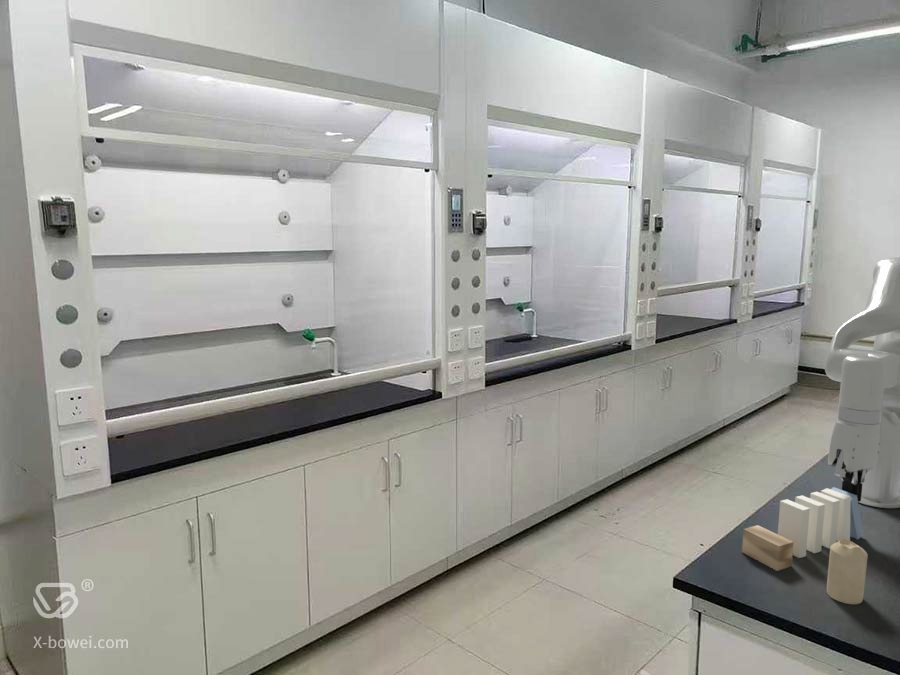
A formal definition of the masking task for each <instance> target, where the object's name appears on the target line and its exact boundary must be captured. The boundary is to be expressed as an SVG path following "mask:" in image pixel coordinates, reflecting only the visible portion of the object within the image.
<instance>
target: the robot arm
mask: <svg viewBox="0 0 900 675" xmlns="http://www.w3.org/2000/svg"><path fill="white" fill-rule="evenodd" d="M872 280H873V282H872V285H871V287H870V292H869V295H868V297H867V301H866V305H865V308H864V310H863V311H861V312H860V313H858V314H856V315H854V316H853V317H851V318H850V319H848V320H847V321H845V322H844V323H843V324H842V325H840V327H839V328H837V330H836V331H835V333H834V334H833V336H832V339H831V341H830V344H829V346H828V347H829V348H828V351H827V354H826V356H825V361H824V372H825V374H826V376H827V377H828V378H829V379H831V380H832V381H835V382H839V383H840V385H839V396H838V397H839V398H838V407H837V416H836V417H837V418H836V421H835V423H834V427H833V430H832V434H831V436H830V437H831V438H830V443H829V448H828V456H827V463H828V466H830V467H835V469H834V474H833V475H834V476H837V477H840V480H841V490H843V491H846V492H849V493H851V494H854V495H857V499H858V504H862V505H866V506H870V507H874V508H875V507H876V508H881V509H882V508H883V509H899V508H900V418H899V417H898V415H897V414H896V413H898V414H899V413H900V257H888V258H883V259H882V260H879V261H878V262H877V263H876V264H875V265H874V268H873V272H872ZM871 337H874V342H873V348H872V350H869V349H868V350H867V349H859V348H851V347H850V346H851V345H853V344H855V343H856V342H859V341H860V340H864V339H866V338H871Z"/></svg>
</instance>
